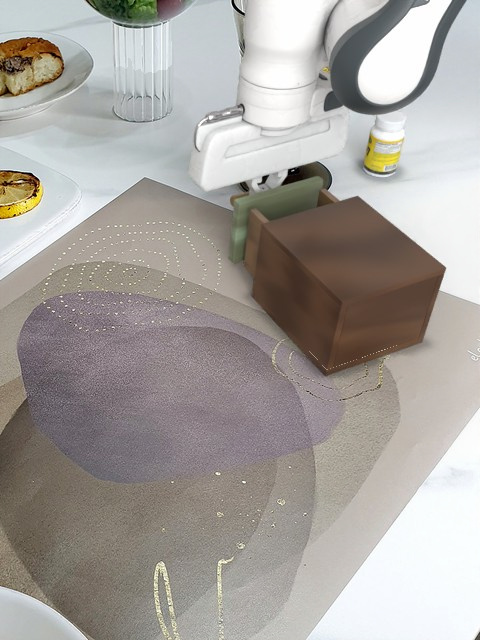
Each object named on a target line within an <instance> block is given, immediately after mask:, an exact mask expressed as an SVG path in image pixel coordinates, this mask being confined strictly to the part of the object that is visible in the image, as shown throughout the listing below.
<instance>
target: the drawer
mask: <svg viewBox="0 0 480 640" xmlns="http://www.w3.org/2000/svg"><path fill="white" fill-rule="evenodd" d="M323 186H324V179H323V178H322V177H320V176H319V175H316V176H312V177H309V178H306V179H302V180H298V181H294V182H292V183H291V182H290V183H288V184H287V183H286V184H284V185H283V183H282V184H281V185H280V186H279V187H277V188H273V189H270V190H266V191H263V192H259V193H256V194H252V195H249V191H246V192H241V193H239V194H234V195H232V196H230V198H229V202H230V205H231V207H233V210H232V219H231V220H232V221H231V230H230V240H229V250H228V260H229V262H231V264H232V265H233V264H237V263H241V262H243V268H244V269H245V270H246V271H247V272H248V273H249V274H250V275H251V276H252V277H253V278H254V277H255V269H256V261H257V254H258V246H259V238H260V231H261V224H263V223H266V222H269V221H273V220H276V219H280V218H283V217H287V216H290V215H293V214H297V213H300V212H304V211H307V210H310V209H314V208H317V207H321V206H324V205H327V204H331V203H334V202H338V201H341V200H340V199H339V198H338V197H336V196H335V195H334V194H333V193H331V192H330V191H329V190H328V189H327V188H323Z"/></svg>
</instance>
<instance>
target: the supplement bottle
mask: <svg viewBox="0 0 480 640" xmlns="http://www.w3.org/2000/svg"><path fill="white" fill-rule="evenodd" d="M406 122H407V115H406V113H404V112H403V111H401V110H400V109H399V110H397V111H394V112H391V113H387V114H381V115H375V119H374V124H373V125H372V126H371V128H370V131H369V136H368V140H367V145H366V150H365V155H364V159H363V164H362V169H363V172H365V174H368V175H369V176H371V177H376V178H388V177H392V176H393V175H394V174H396V172H397V170H398V165H399V161H400V159H401V153H402V150H403V149H402V148H403V145H404V141H405V137H406V129H405V126H406Z"/></svg>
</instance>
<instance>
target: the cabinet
mask: <svg viewBox="0 0 480 640" xmlns="http://www.w3.org/2000/svg"><path fill="white" fill-rule="evenodd" d="M446 270H447V266H445V264H443V263H441V261H439V260H438V259H437V258H436V257H434V256H433V255H432V254H431V253H429V252H428V251H427V250H426V249H424V248H423V247H422V246H421V245H419V244H418V243H417V242H416V241H415V240H413V239H412V238H411V237H409V236H408V235H407V234H406V233H405V232H404V231H402V230H401V229H400V228H398V227H397V226H396V225H394V223H392V222H391V221H390V220H388V218H386V217H385V216H383V214H381V213H380V212H379V211H377V210H376V209H375V208H374V207H373V206H371V205H370V204H369V203H367V201H366V200H364V199H362V198H361V197H360V196H359V195H355V196H351V197H348V198H345V199H341V200H340V201H338V202H334V203H331V204H327V205H324V206H321V207H317V208H314V209H310V210H307V211H304V212H300V213H297V214H293V215H290V216H287V217H283V218H280V219H276V220H273V221H269V222H266V223H263V224H261V231H260V238H259V246H258V254H257V261H256V269H255V277H253V285H252V293H251V297H252V299H253V300H254V301H255V302H256V303H257V304H258V305H259V306H260V307H261V309H263V311H264V312H265V313H266V314H267V315H268V316H269V317H270V318H271V319H272V320H273V321H274V323H275V324H277V325H278V327H279V328H280V329H281V330H282V331H283V332H284V334H286V336H287V337H288V338H289V339H290V340H291V341H292V342H293V343H294V344H295V345H296V346H297V347H298V349H299V350H300V351H301V352H302V353H303V354H304V355H305V356H306V357H307V359H309V361H310V362H311V363H312V364H313V365H314V366H315V367H316V368H317V369H318V370H319V371H320V372H321V373H322V374H323V376H324V377H328V376H330V375H334V374H335V373H338V372H342V371H345V370H347V369H350V368H353V367H356V366H359V365H362V364H365V363H367V362H371V361H373V360H376V359H378V358H382V357H384V356H387V355H390V354H392V353H396V352H398V351H401V350H405V349H407V348H410V347H412V346H415V345H418V344H422V343H423V341H424V337H425V334H426V331H427V329H428V325H429V323H430V321H431V320H430V319H431V316H432V313H433V310H434V307H435V304H436V301H437V299H438V295H439V292H440V289H441V285H442V282H443V279H444V276H445V274H446V272H447V271H446ZM396 345H397V346H396ZM393 346H394V347H393ZM390 347H391V348H390ZM387 348H388V349H387ZM384 349H386V350H384ZM381 350H383V351H381ZM309 351H310V352H311V353H312V354H313V355H314V356H315V357H316V358H317V359H318V360H317V359H316V358H315V357H314V356H313V355H312V354H311V353H310V352H309ZM378 351H380V352H378ZM376 352H377V353H376ZM373 353H374V354H373ZM370 354H371V355H370ZM367 355H368V356H367ZM364 356H366V357H364ZM362 357H363V358H362ZM356 359H357V360H356ZM353 360H354V361H353ZM350 361H351V362H350ZM347 362H348V363H347ZM344 363H346V364H344ZM341 364H343V365H341ZM322 365H323V366H324V367H325V368H326V369H328V370H326V369H325V368H324V367H323V366H322ZM339 365H340V366H339ZM336 366H337V367H336ZM333 367H334V368H333ZM330 368H331V369H330Z"/></svg>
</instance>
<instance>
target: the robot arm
mask: <svg viewBox="0 0 480 640" xmlns="http://www.w3.org/2000/svg"><path fill="white" fill-rule="evenodd" d="M467 1H468V0H246V3H245V4H246V5H245V10H244V11H245V12H244V18H243V29H242V35H243V41H244V51H243V56H242V59H241V61H240V64H239V71H238V80H237V88H236V89H237V90H236V100H235V105H233V106H229V107H227V108H224V109H221V110H213V111H210V112H208V113H206V114H205V117H203V118H202V119H200V120H199V122H198V123H196V124H195V126H194V129H193V138H192V139H193V142H192V146H191V152H190V157H189V163H188V176H189V178H190V180H191V181H192V182H193V183H194V184H195V185H196V186H197V187H198V188H199V189H200V190H202V191H203V192H206V193H207V192H211V191H215V190H218V189H222V188H225V187H229V186H233V185H236V184H241V183H243V182H245V183H246V185H247V187H248V189H249V195H252V194H256V193H259V192H263V191H266V190H270V189H273V188H277V187H279V186H280V185H281V184H282V185H283V182H284V181H285V179H286V178H287V177H288V174H289V173H288V172H289V170H290V169H294V168H298V167H301V166H305V165H308V164H312V163H317V162H319V161H323V160H326V159H330V158H334V157H337V156H338V155H339V154H340V153H341V152H342V150H343V149H344V148H345V146H346V143H347V138H348V134H349V133H348V132H349V127H350V118H351V114H350V111H351V112H355V113H357V114H361V115H365V116H376V115H381V114H387V113H391V112H394V111H397V110H399V111H400V110H401V109H403V108H405V107H407V106H409V105H410V104H412V103H414V102H415V101H416V100H417V99H419V97H421V96H422V95H423V93H425V91H426V90H427V89H428V87H429V86H430V84H431V83H432V82H433V79H434V77H435V75H436V72H437V70H438V67H439V64H440V60H441V57H442V52H443V49H444V46H445V45H444V44H445V42H446V39H447V37H448V34H449V32H450V30H451V28H452V26H453V24H454V22H455V21H456V19H457V17H458V16H459V13H460V12H461V10H462V9H463V7H464V6H465V4H466V2H467ZM325 68H329V72H327V71H325V70H323V69H325ZM265 176H268V177H267V179H266V180H265V182H264V183H262V182H263V177H265ZM261 183H262V184H261Z"/></svg>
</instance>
